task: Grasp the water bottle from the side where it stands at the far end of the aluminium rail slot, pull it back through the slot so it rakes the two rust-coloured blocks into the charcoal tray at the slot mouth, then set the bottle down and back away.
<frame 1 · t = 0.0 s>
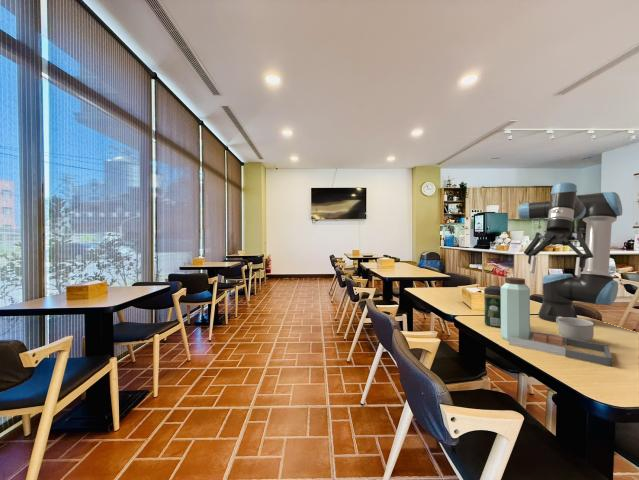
hand: (553, 274, 104), 28 cm above the table, tool tilted 20°, fingers open, 13 cm apart
block B: (555, 348, 104), on the table
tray: (584, 354, 98), on the table
slot rails: (537, 344, 107), on the table
water bottle: (515, 340, 112), on the table
block A: (540, 345, 107), on the table
teacup: (572, 339, 113), on the table
coffee jar: (494, 325, 133), on the table
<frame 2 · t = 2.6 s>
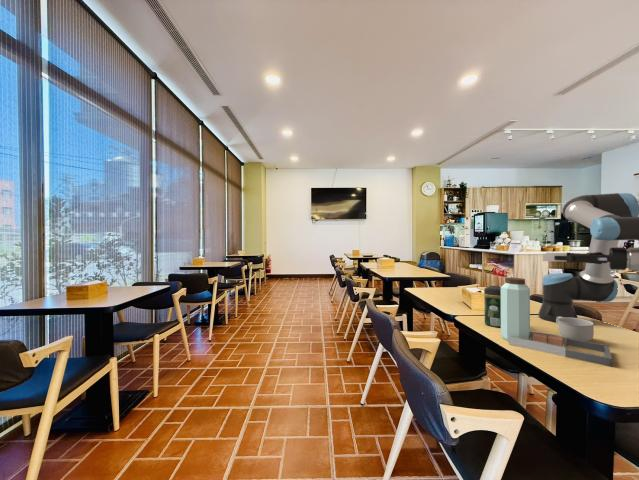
hand: (544, 256, 106), 34 cm above the table, tool horizontal, fingers open, 13 cm apart
nothing on the table moved.
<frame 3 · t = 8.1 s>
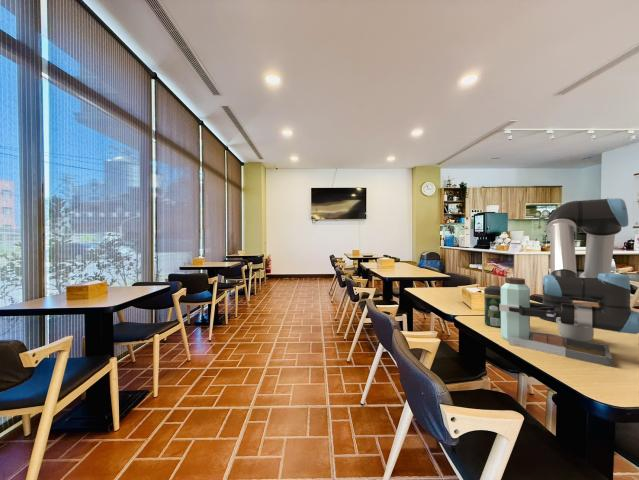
hand: (502, 305, 115), 13 cm above the table, tool horizontal, fingers closed on water bottle, 9 cm apart
water bottle: (515, 340, 112), on the table, touching gripper
everything else where it was.
when the fingers open (14 cm above the table, at t = 13.0 s): water bottle stays where it is, on the table.
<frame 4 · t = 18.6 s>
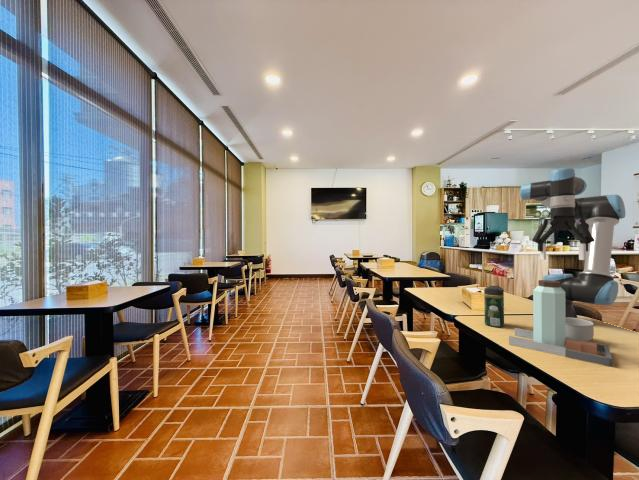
hand: (562, 259, 112), 33 cm above the table, tool pointing down, fingers open, 13 cm apart
block B: (588, 354, 98), on the table
water bottle: (549, 347, 105), on the table
block A: (573, 352, 100), on the table
everything else where it was.
at the end: block A 3.1 cm from the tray (horizontally); block B 1.0 cm from the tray (horizontally); water bottle tilted 0° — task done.
